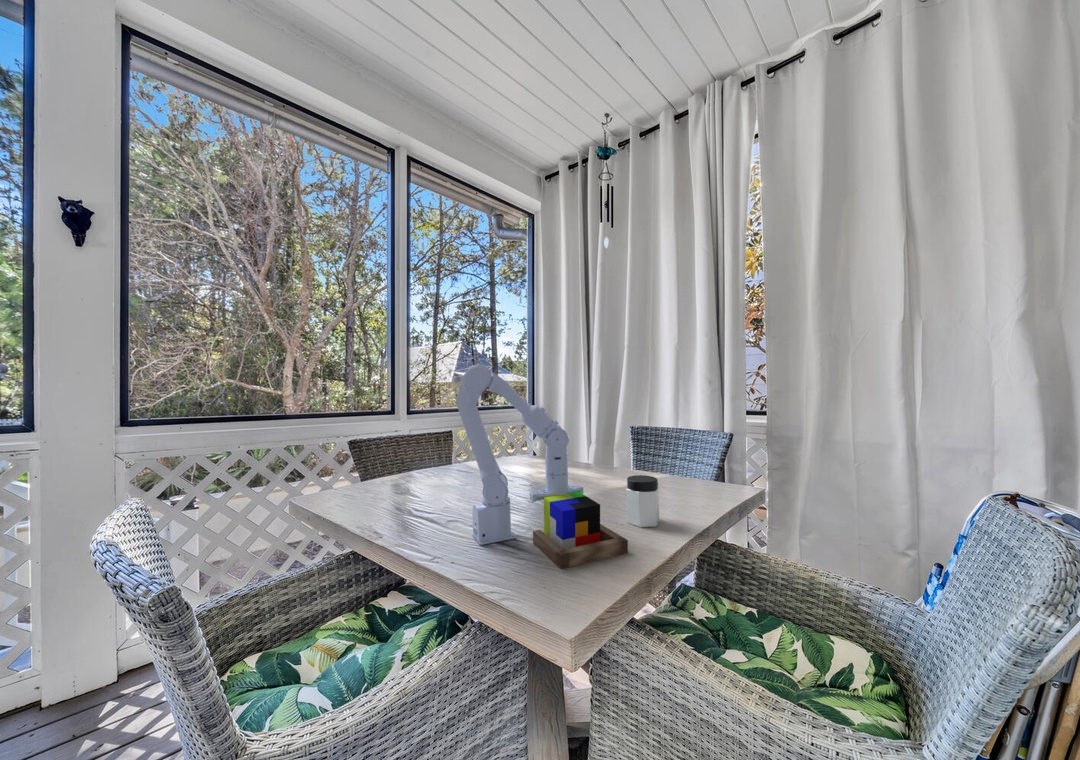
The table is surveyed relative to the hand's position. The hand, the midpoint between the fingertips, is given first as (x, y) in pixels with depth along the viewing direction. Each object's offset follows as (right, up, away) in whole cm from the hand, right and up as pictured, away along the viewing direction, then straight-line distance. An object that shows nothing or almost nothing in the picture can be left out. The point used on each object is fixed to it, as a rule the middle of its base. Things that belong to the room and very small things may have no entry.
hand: (558, 525), depth 106 cm
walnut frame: (+4, -2, -9) cm, 10 cm away
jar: (+24, -2, +6) cm, 24 cm away
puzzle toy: (+3, -2, -7) cm, 8 cm away
